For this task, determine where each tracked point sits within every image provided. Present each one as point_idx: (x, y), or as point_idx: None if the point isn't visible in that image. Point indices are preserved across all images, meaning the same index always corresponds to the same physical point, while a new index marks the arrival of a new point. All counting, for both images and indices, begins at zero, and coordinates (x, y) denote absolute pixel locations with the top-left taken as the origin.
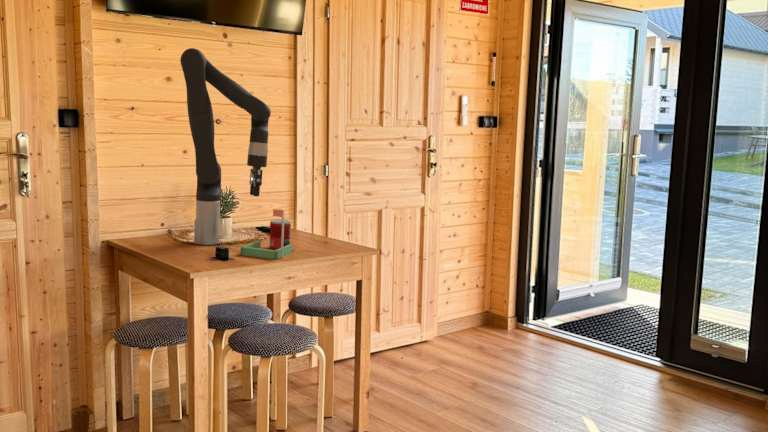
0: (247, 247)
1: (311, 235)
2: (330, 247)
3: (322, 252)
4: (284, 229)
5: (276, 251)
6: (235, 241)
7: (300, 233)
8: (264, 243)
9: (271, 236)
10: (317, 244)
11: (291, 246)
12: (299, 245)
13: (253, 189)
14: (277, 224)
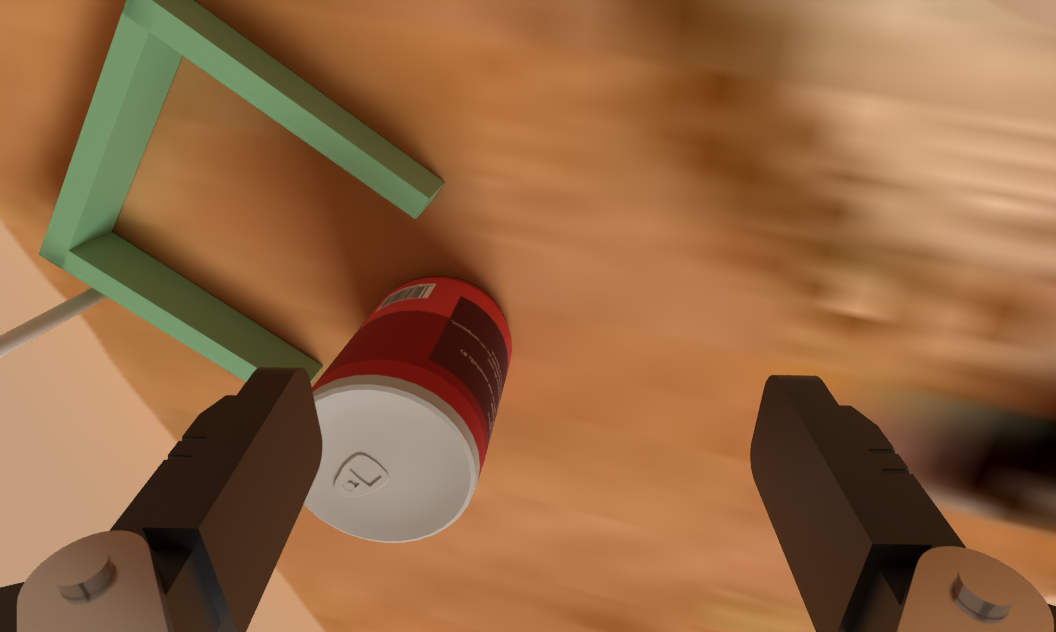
0: (130, 51)
1: None
2: (467, 604)
3: (328, 532)
4: None
5: (44, 256)
6: (779, 32)
7: None
8: (640, 273)
9: (382, 317)
10: (561, 573)
11: None
12: (539, 476)
13: (801, 520)
14: None
